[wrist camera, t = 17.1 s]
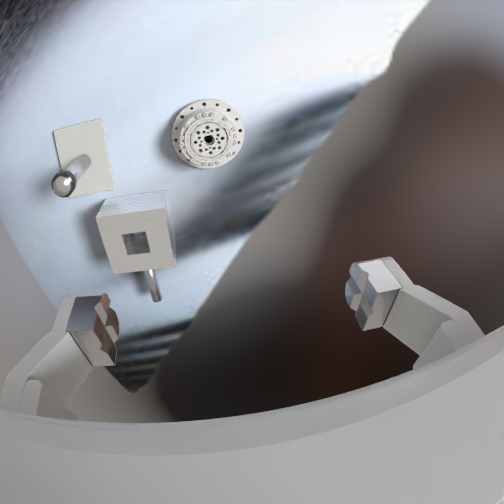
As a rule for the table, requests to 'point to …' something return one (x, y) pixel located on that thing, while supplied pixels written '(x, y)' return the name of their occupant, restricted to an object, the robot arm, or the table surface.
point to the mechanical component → (207, 133)
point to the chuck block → (139, 235)
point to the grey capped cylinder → (70, 176)
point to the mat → (92, 144)
